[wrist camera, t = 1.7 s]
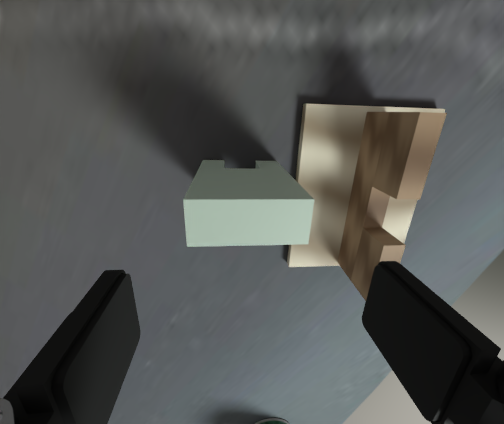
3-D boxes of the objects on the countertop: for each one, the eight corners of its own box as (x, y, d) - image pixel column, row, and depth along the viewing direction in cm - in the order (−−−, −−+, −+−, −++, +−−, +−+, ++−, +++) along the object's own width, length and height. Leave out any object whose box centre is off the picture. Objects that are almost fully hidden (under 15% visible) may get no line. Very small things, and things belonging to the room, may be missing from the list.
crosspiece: (202, 159, 25) (183, 199, 14) (276, 160, 25) (314, 199, 14) (204, 188, 26) (186, 246, 15) (274, 188, 26) (308, 244, 15)
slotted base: (303, 103, 23) (338, 100, 16) (437, 109, 25) (525, 108, 17) (287, 262, 30) (306, 311, 23) (392, 259, 32) (442, 304, 24)
